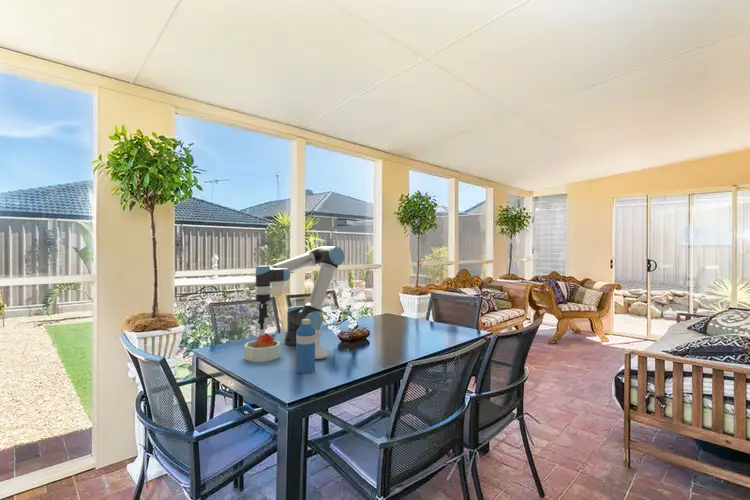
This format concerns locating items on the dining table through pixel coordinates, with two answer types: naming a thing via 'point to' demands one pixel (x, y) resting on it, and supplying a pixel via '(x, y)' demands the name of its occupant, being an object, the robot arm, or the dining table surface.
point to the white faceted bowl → (261, 352)
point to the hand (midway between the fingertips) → (263, 332)
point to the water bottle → (305, 348)
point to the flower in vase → (319, 351)
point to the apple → (265, 341)
